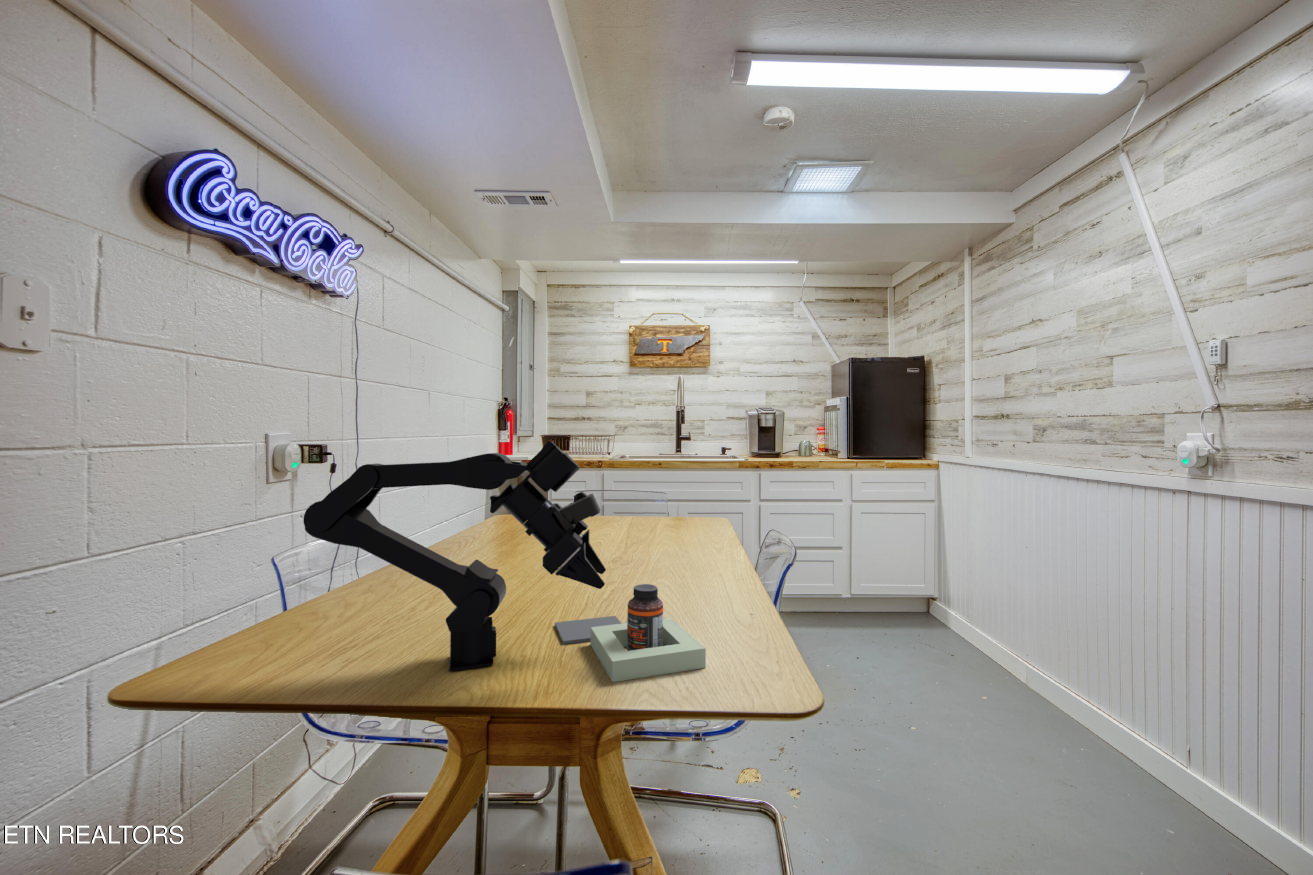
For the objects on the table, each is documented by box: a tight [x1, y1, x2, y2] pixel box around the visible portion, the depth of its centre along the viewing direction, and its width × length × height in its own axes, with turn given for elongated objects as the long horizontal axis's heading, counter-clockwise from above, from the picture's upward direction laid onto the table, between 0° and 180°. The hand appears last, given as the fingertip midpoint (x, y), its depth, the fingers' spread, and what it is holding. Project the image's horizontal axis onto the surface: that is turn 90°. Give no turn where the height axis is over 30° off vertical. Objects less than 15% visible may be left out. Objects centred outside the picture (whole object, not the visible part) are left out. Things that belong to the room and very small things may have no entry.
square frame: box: [590, 617, 707, 683], centre depth 84 cm, size 15×15×3 cm
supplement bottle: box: [626, 583, 664, 651], centre depth 84 cm, size 6×6×11 cm
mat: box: [554, 615, 623, 646], centre depth 95 cm, size 12×10×1 cm
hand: (603, 578), depth 84 cm, fingers open, 9 cm apart
